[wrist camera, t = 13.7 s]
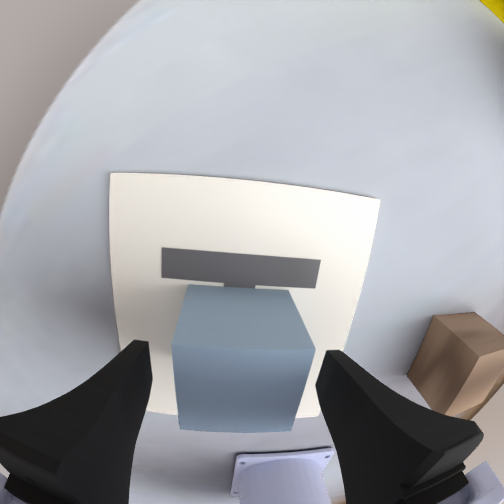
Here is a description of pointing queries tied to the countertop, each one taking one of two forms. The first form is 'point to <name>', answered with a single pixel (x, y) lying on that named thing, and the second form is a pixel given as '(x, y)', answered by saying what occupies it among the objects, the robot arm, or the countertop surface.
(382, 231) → the countertop surface
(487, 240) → the countertop surface
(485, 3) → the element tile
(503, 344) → the walnut block
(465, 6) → the countertop surface
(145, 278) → the letter card
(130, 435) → the robot arm
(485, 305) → the countertop surface
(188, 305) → the dusty blue cube
